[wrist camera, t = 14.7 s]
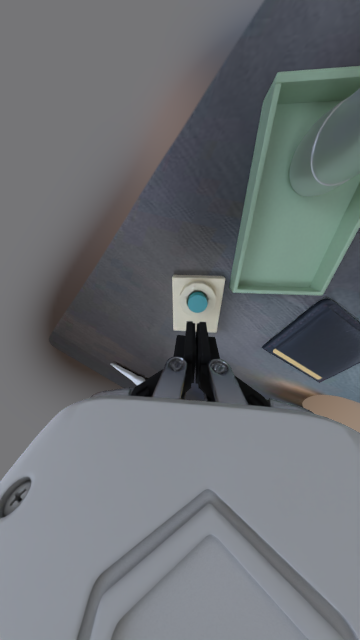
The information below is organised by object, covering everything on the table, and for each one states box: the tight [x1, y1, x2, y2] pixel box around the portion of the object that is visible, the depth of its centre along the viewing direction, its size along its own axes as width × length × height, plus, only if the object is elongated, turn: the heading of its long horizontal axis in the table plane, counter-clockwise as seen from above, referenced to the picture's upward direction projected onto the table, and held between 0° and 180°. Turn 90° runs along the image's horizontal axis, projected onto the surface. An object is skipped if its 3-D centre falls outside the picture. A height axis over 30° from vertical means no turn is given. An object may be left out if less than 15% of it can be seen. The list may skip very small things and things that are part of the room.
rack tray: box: [229, 66, 360, 295], centre depth 19 cm, size 21×14×3 cm
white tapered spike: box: [111, 363, 145, 386], centre depth 40 cm, size 15×3×2 cm, turn 48°
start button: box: [188, 292, 208, 313], centre depth 23 cm, size 3×3×2 cm
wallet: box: [263, 299, 360, 383], centre depth 30 cm, size 20×2×15 cm
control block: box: [172, 275, 225, 332], centre depth 26 cm, size 11×9×4 cm
